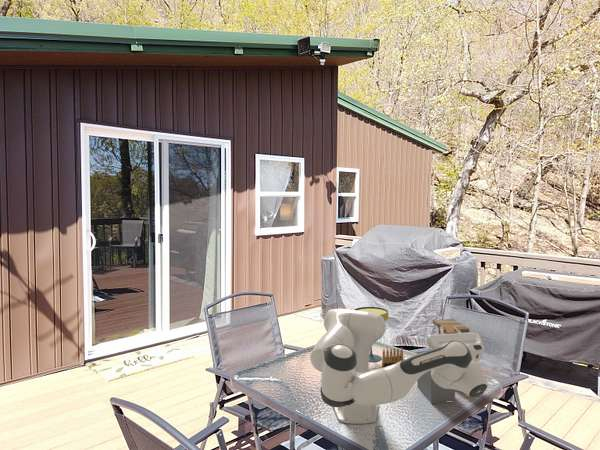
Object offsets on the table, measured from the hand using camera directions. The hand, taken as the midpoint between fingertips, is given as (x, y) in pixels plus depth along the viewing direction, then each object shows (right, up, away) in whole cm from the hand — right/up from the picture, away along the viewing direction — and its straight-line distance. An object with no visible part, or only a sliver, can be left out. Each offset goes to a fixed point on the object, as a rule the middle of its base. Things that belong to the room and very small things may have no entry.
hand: (447, 327), depth 180 cm
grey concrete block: (-1, -31, +13) cm, 34 cm away
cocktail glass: (-21, -29, +58) cm, 68 cm away
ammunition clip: (-14, -30, +38) cm, 50 cm away
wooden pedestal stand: (+10, -30, +27) cm, 42 cm away
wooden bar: (0, -9, +6) cm, 11 cm away
